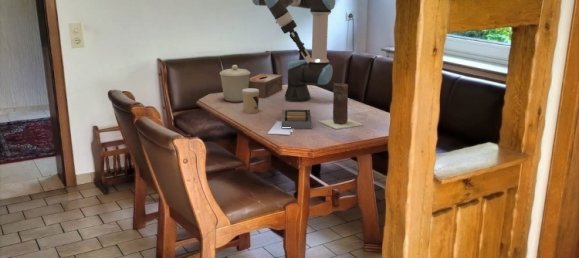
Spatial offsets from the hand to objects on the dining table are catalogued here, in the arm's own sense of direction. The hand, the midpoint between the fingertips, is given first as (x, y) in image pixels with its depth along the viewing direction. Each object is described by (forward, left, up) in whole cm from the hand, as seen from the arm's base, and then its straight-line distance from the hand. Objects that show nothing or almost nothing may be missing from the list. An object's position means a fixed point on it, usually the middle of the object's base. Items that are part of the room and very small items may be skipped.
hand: (308, 59), depth 280 cm
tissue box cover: (-9, -69, -32) cm, 76 cm away
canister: (+14, -60, -31) cm, 69 cm away
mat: (-10, +14, -31) cm, 36 cm away
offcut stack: (+11, +6, -31) cm, 34 cm away
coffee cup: (+18, -31, -31) cm, 47 cm away
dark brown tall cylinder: (-10, +14, -31) cm, 35 cm away
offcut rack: (+8, +1, -31) cm, 32 cm away
